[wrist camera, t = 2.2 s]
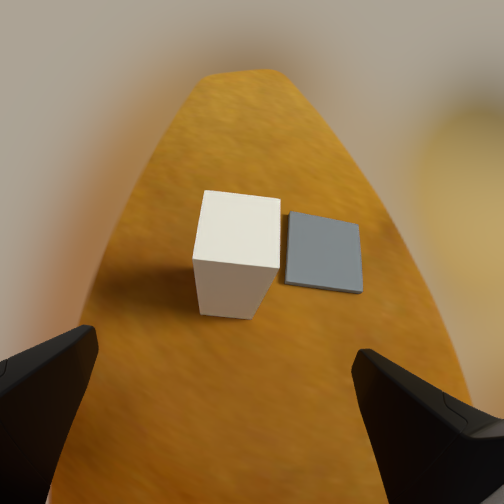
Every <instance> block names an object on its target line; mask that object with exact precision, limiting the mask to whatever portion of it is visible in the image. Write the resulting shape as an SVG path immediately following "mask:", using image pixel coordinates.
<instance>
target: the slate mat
mask: <svg viewBox="0 0 504 504" xmlns="http://www.w3.org/2000/svg"><path fill="white" fill-rule="evenodd" d="M285 284H290V285H297V286H304V287H311V288H319V289H326V290H334V291H342V292H349V293H357V294H360V293H362V292H363V281H362V264H361V250H360V238H359V227H358V224H353V223H349V222H344V221H339V220H334V219H329V218H324V217H319V216H314V215H308V214H303V213H298V212H292V211H290V213H289V219H288V238H287V256H286V271H285Z"/></svg>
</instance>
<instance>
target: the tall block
mask: <svg viewBox="0 0 504 504" xmlns="http://www.w3.org/2000/svg"><path fill="white" fill-rule="evenodd" d="M193 266H194V274H195V281H196V289H197V296H198V302H199V309H200V314H202V315H211V316H220V317H230V318H240V319H251V320H252V318H253V316H254V314H255V312H256V311H257V309H258V307H259V305H260V303H261V302H262V300H263V298H264V296H265V294H266V292H267V291H268V289H269V287H270V285H271V283H272V281H273V279H274V278H275V276H276V274H277V272H278V270H279V268H280V199H275V198H268V197H260V196H252V195H244V194H236V193H227V192H218V191H208V190H205V192H204V197H203V202H202V208H201V213H200V218H199V224H198V229H197V235H196V241H195V247H194V253H193Z"/></svg>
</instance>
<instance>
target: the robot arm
mask: <svg viewBox="0 0 504 504" xmlns="http://www.w3.org/2000/svg"><path fill="white" fill-rule="evenodd" d="M98 350H99V346H98V341H97V335H96V330H95V328H94V327H93V326H89V325H81V326H79V327H77V328H74V329H72V330H71V331H68V332H66V333H63V334H61V335H59V336H57V337H54V338H52V339H50V340H48V341H45V342H43V343H41V344H39V345H36V346H35V347H32V348H30V349H27V350H25V351H23V352H21V353H19V354H16V355H14V356H12V357H10V358H8V359H5V360H3V361H1V362H0V504H45V503H46V500H47V496H48V493H49V489H50V485H51V482H52V479H53V476H54V472H55V469H56V466H57V463H58V460H59V457H60V455H61V452H62V449H63V446H64V443H65V441H66V438H67V435H68V433H69V430H70V428H71V425H72V422H73V420H74V417H75V415H76V412H77V410H78V408H79V405H80V403H81V400H82V398H83V396H84V393H85V391H86V389H87V386H88V383H89V380H90V376H91V373H92V370H93V367H94V364H95V361H96V358H97V355H98ZM351 373H352V378H353V382H354V387H355V391H356V396H357V400H358V405H359V408H360V412H361V415H362V418H363V421H364V424H365V427H366V430H367V433H368V436H369V439H370V442H371V445H372V448H373V452H374V455H375V458H376V461H377V465H378V468H379V471H380V475H381V478H382V481H383V485H384V488H385V492H386V495H387V499H388V502H389V504H504V419H500V418H496V417H494V416H491V415H489V414H487V413H485V412H483V411H480V410H478V409H476V408H474V407H472V406H470V405H468V404H466V403H463V402H461V401H460V400H458V399H456V398H454V397H452V396H450V395H449V394H447V393H445V392H442V390H440V389H438V388H436V387H435V386H433V385H431V384H429V383H428V382H426V381H424V380H422V379H421V378H419V377H417V376H416V375H414V374H412V373H410V372H409V371H407V370H405V369H404V368H402V367H400V366H399V365H397V364H395V363H394V362H392V361H390V360H388V359H387V358H385V357H383V356H382V355H380V354H378V353H377V352H375V351H373V350H372V349H360V350H359V351H358V352H357V355H356V358H355V360H354V363H353V365H352V369H351Z"/></svg>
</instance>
